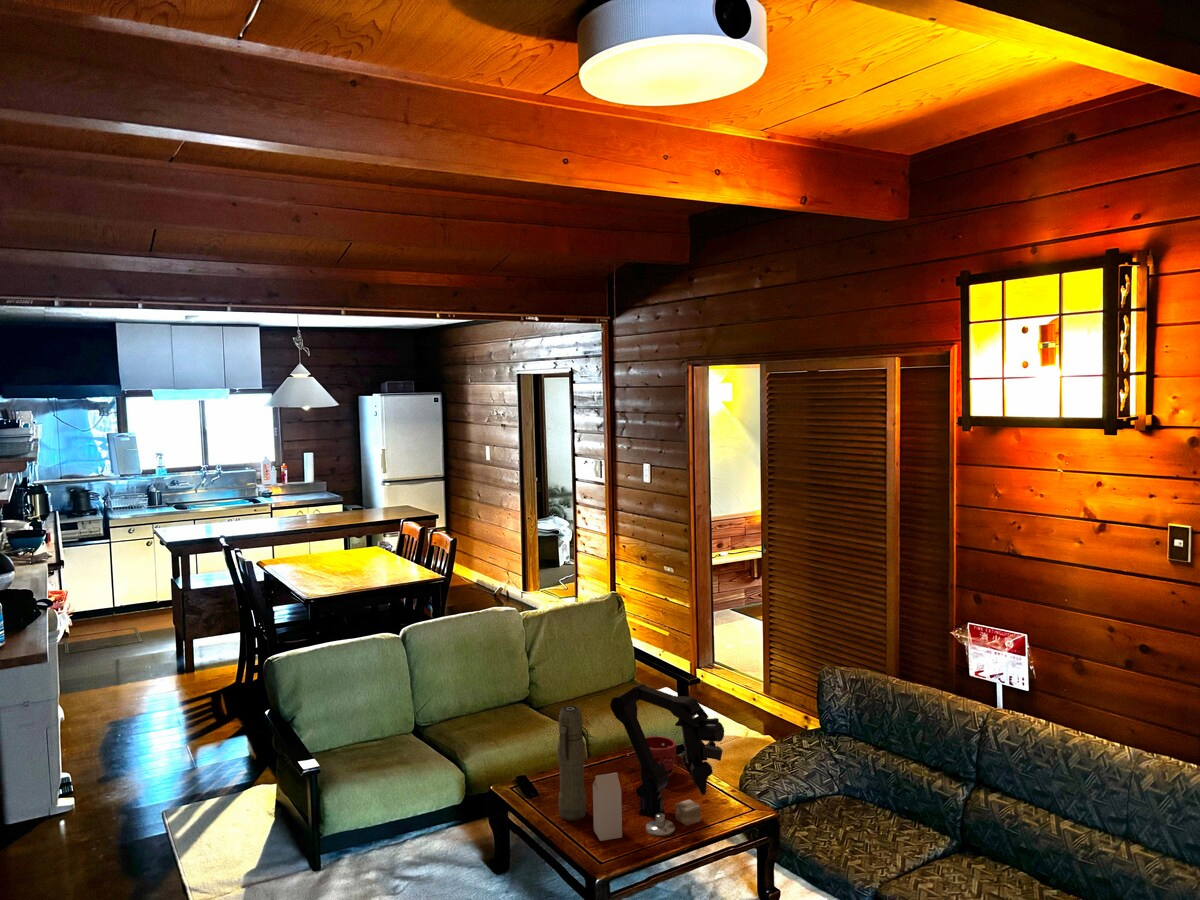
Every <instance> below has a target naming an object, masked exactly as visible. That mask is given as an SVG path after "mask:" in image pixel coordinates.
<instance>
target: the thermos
mask: <svg viewBox="0 0 1200 900" xmlns="http://www.w3.org/2000/svg"><path fill="white" fill-rule="evenodd" d="M558 715H559V716H558V733H559V736H558V742H557V763H558V765H559V766H558V767H559V769H558V770H559V793H558V796H557V797H558V809H559V812H558V815H560V816H559V817H560V818H561V819H563V820H565V819H566V821H578V820H581V819H583V818H585V816H586V814H587V813H586V807H587V793H586V790H585V781H584V780H585V777H584V776H585V775H584V774H585V771H584V770H585V769H584V766H585V765H584V764H585V762H586V757H585V756H586V753H585V752H586V750H585V741H584V739H583V737H584V736H583V734H582V733H583V715H582V713H581V709H580V708H579V706H578V707H577V706H576V705H566V706H563V707H562V708H560V712H559V714H558Z"/></svg>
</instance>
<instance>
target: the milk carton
mask: <svg viewBox="0 0 1200 900" xmlns="http://www.w3.org/2000/svg"><path fill="white" fill-rule="evenodd" d="M592 802H593V803H592V806H593V807H592V808H593V809H592V813H593V816H592V817H593V819H592V820H593V831H594V834H595V835H596V836H597V838H598V840H599V841H600V842H602V841H609V840H614V839H621V838H623V819H622V818H623V811H622V810H623V809H622V787H621V783H620V780H619V773H618V772H612V773H606V774H597V775H595V780H594V781H593V783H592Z"/></svg>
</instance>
